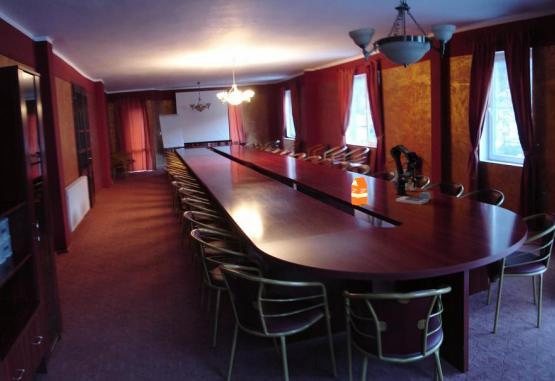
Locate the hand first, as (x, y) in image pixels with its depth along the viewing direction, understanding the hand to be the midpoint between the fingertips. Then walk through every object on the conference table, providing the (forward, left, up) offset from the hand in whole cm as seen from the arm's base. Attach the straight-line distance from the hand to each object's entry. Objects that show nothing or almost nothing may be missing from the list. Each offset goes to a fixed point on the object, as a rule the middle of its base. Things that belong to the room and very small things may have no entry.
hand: (410, 188), depth 371 cm
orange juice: (-20, -41, -8) cm, 46 cm away
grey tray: (+8, -13, -8) cm, 17 cm away
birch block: (0, 0, -1) cm, 1 cm away
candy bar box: (-24, +30, -8) cm, 39 cm away
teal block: (+12, 0, -8) cm, 14 cm away
